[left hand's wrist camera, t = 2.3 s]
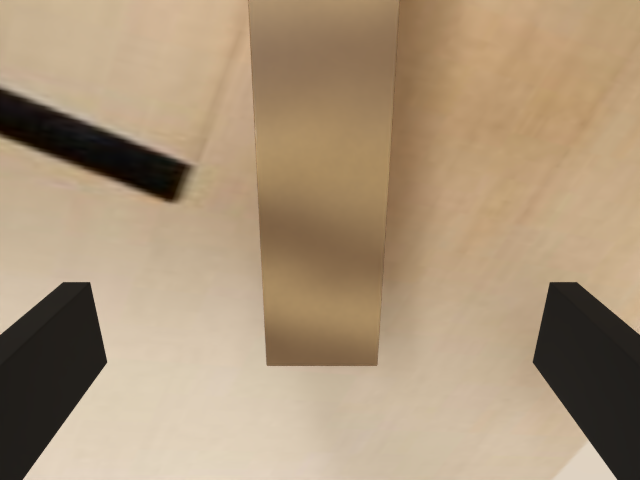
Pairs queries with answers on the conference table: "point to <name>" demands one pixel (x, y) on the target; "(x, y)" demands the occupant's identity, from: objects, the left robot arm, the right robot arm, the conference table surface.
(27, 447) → the left robot arm
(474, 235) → the conference table surface
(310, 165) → the beam
